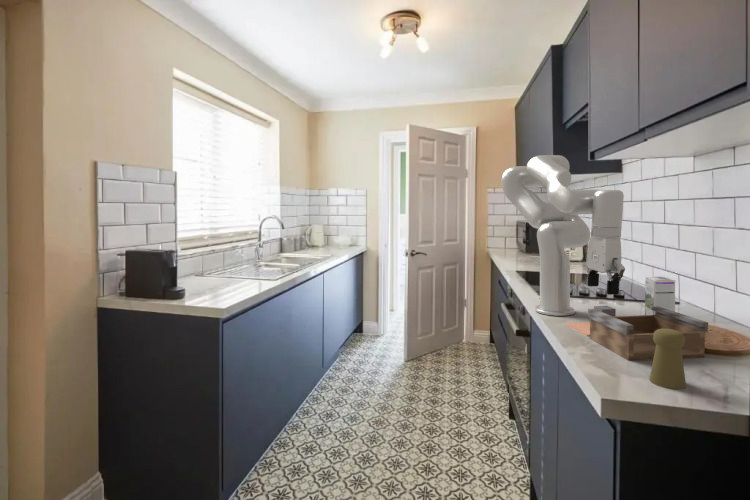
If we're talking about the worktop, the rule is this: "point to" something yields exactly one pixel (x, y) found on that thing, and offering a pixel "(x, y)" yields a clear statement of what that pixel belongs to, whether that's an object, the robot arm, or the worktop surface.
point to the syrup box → (659, 294)
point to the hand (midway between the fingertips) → (602, 290)
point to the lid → (585, 326)
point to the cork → (668, 359)
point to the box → (646, 332)
